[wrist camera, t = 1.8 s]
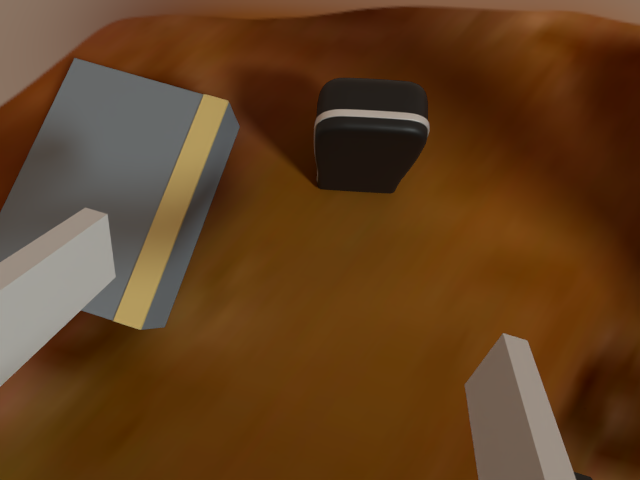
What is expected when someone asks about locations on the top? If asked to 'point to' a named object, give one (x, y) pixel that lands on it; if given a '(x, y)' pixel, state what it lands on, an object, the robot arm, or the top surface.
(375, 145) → the battery charger
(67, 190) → the dock
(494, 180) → the top surface
